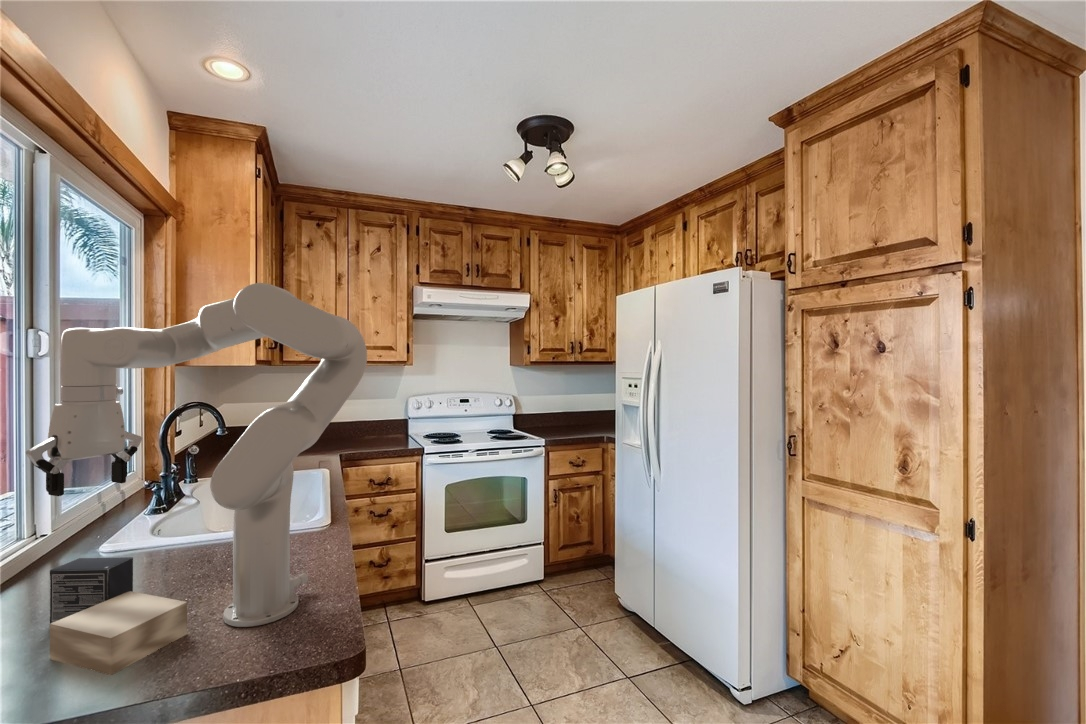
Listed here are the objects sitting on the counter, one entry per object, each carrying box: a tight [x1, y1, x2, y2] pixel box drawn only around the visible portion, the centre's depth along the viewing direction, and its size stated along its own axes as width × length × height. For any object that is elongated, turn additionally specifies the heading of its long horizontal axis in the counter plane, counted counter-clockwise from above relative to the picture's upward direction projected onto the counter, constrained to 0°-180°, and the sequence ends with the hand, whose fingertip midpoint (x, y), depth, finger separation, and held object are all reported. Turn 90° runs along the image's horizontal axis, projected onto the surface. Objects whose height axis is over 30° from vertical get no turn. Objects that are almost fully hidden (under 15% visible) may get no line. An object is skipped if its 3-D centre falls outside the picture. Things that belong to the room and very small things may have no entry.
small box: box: [49, 556, 134, 625], centre depth 94 cm, size 11×6×10 cm, turn 92°
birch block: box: [49, 590, 188, 676], centre depth 85 cm, size 12×14×6 cm
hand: (88, 488), depth 92 cm, fingers open, 9 cm apart
